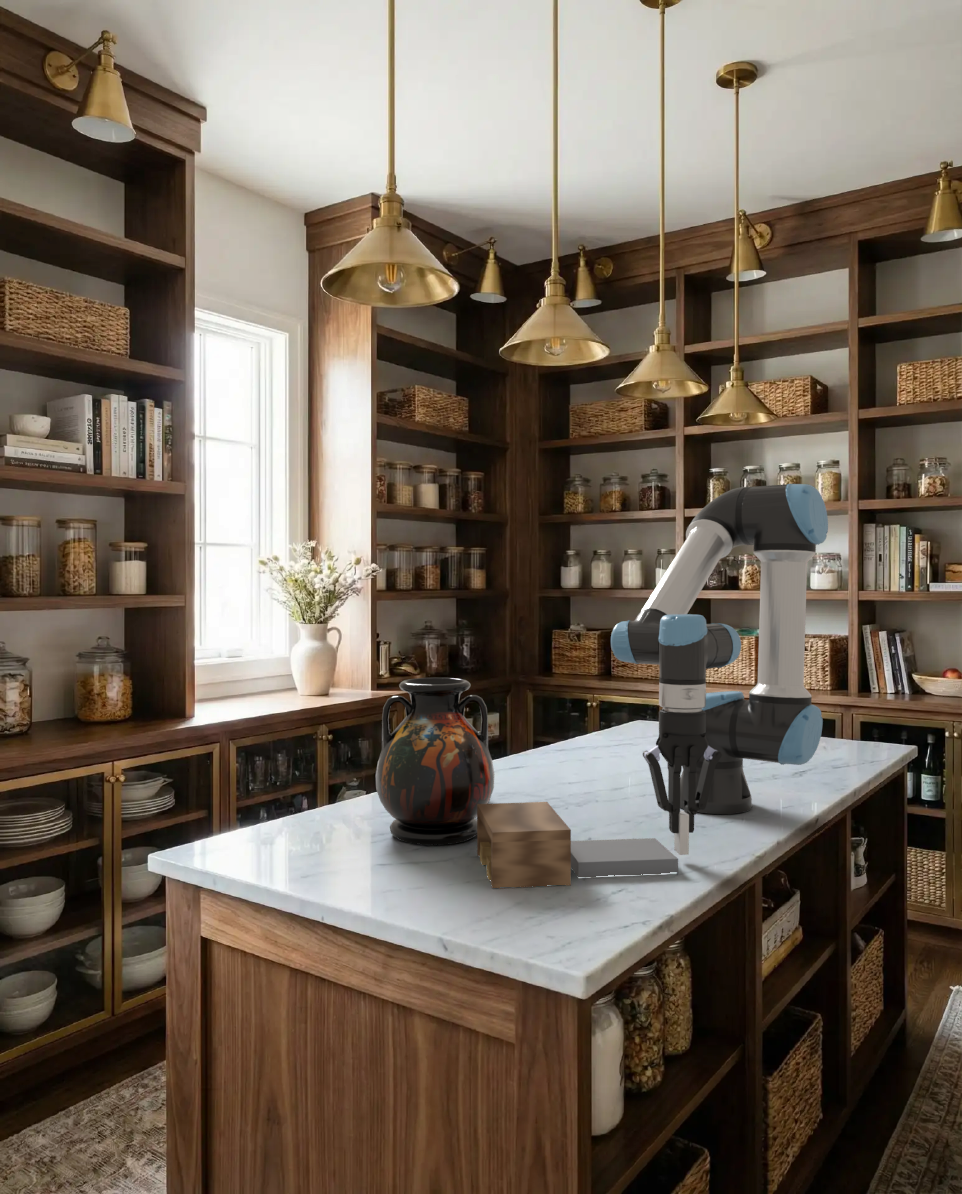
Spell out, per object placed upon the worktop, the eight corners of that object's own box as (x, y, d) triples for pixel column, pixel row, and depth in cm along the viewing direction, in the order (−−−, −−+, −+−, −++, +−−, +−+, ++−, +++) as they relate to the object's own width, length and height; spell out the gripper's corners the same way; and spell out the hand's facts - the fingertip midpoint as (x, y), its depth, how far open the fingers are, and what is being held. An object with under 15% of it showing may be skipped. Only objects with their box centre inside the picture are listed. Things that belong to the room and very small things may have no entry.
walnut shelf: (547, 851, 163) (547, 801, 163) (570, 885, 146) (570, 829, 145) (477, 854, 162) (477, 804, 162) (492, 888, 144) (492, 832, 144)
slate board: (655, 855, 163) (655, 838, 163) (678, 877, 151) (678, 858, 151) (562, 859, 161) (562, 841, 161) (578, 881, 149) (578, 862, 149)
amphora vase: (372, 853, 163) (371, 688, 162) (379, 820, 184) (378, 675, 184) (498, 851, 164) (498, 687, 163) (490, 818, 185) (490, 674, 185)
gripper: (650, 712, 152) (650, 860, 153) (729, 711, 154) (728, 857, 154) (636, 706, 159) (636, 847, 160) (711, 705, 161) (710, 844, 162)
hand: (681, 852), depth 157 cm, fingers closed
